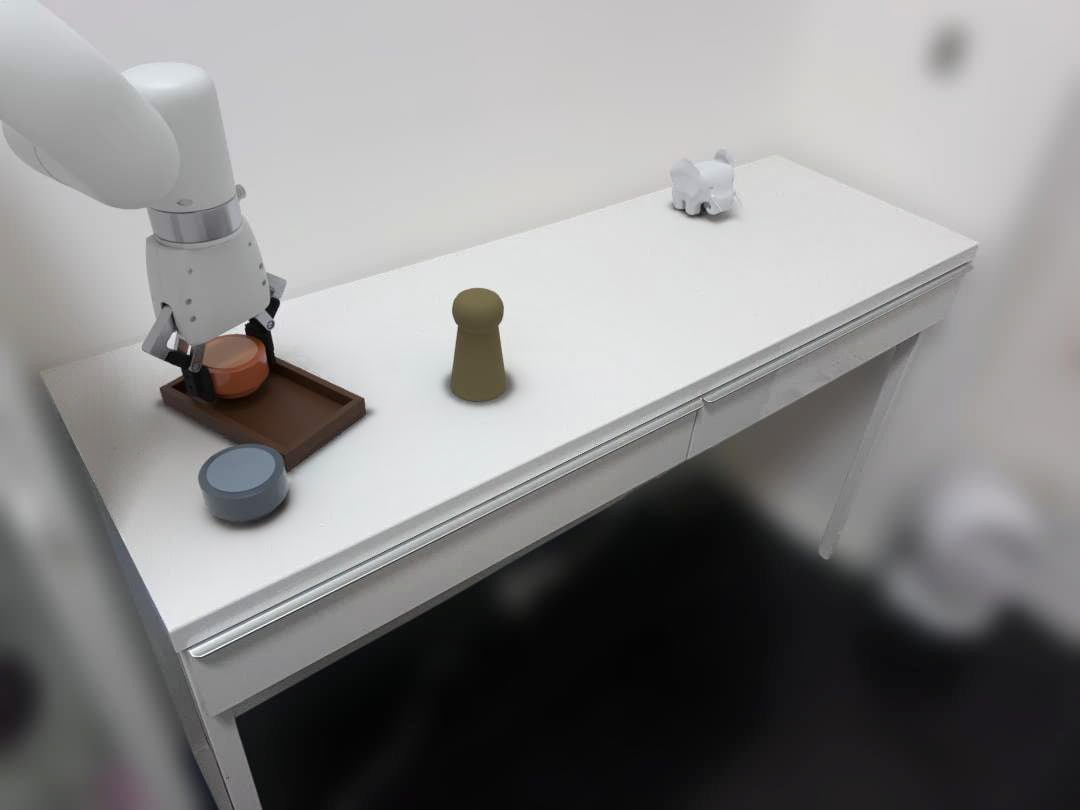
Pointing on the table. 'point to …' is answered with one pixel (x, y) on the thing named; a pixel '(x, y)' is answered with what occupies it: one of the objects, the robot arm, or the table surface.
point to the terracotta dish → (236, 364)
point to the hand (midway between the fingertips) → (234, 377)
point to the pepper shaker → (478, 346)
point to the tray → (275, 411)
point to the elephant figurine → (704, 184)
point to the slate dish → (243, 482)
